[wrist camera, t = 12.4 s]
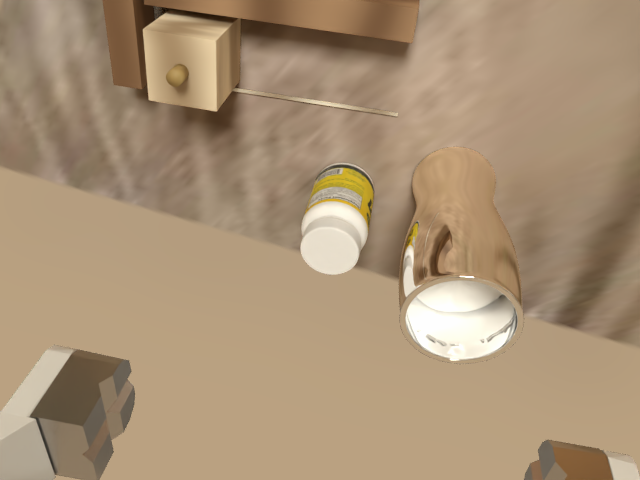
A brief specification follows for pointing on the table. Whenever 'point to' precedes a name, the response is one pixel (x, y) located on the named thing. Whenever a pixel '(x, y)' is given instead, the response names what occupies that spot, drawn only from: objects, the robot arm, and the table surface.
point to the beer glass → (458, 263)
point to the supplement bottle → (337, 218)
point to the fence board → (260, 5)
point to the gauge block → (192, 58)
